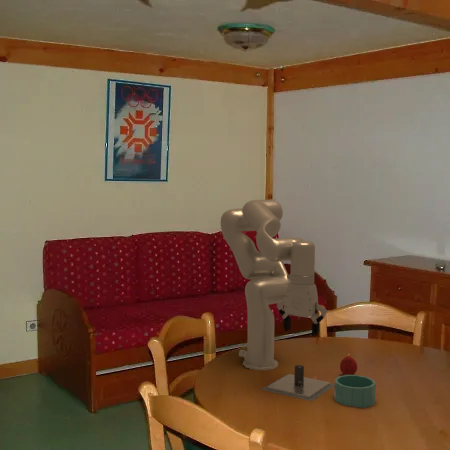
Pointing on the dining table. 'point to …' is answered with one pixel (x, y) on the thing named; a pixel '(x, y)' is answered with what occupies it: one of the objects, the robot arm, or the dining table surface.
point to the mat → (299, 396)
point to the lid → (299, 384)
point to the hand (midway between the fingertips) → (301, 332)
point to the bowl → (355, 391)
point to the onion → (348, 365)
